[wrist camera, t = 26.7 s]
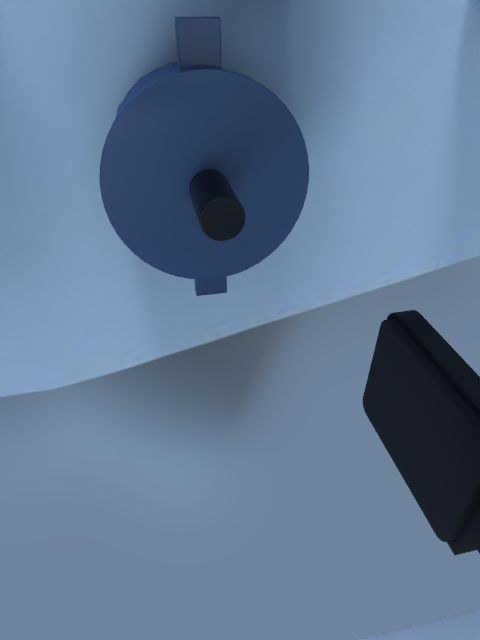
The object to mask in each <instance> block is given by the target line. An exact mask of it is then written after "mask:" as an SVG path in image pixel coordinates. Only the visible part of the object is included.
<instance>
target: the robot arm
mask: <svg viewBox="0 0 480 640" xmlns="http://www.w3.org/2000/svg"><path fill="white" fill-rule="evenodd" d="M363 407H364V410H365V413H366V414H367V416H368V418H369V420H370V422H371V423H372V425H373V427H374V428H375V430H376V432H377V434H378V435H379V437H380V439H381V441H382V442H383V444H384V446H385V448H386V449H387V451H388V453H389V454H390V456H391V458H392V460H393V461H394V463H395V465H396V467H397V468H398V470H399V472H400V473H401V475H402V477H403V479H404V480H405V482H406V484H407V486H408V487H409V489H410V491H411V492H412V494H413V496H414V497H415V499H416V501H417V503H418V504H419V506H420V508H421V510H422V511H423V513H424V515H425V517H426V518H427V520H428V522H429V523H430V525H431V527H432V529H433V530H434V532H435V534H436V535H437V537H438V538H439V539H440V540H441V541H443V542H447V543H448V545H449V546H450V548H451V550H452V552H453V553H454V555H458V554H462V553H466V552H470V551H474V550H478V552H479V553H480V377H479V376H478V375H477V374H476V373H475V372H474V371H473V369H472V368H471V367H470V366H469V365H468V364H467V363H466V362H465V361H464V360H463V359H462V358H461V357H460V356H459V355H458V354H457V352H456V351H455V350H454V349H453V348H452V347H451V346H450V345H449V344H448V343H447V342H446V341H445V340H444V339H443V337H441V335H440V334H439V333H438V332H437V331H436V330H435V329H434V328H433V327H432V326H431V325H430V324H429V323H428V322H427V320H425V319H424V317H423V316H422V315H421V314H420V313H419V312H417V311H415V310H411V311H403V312H396V313H392V314H390V315H389V316H388V317H387V320H384V321H383V322H382V323H381V326H380V330H379V335H378V338H377V343H376V347H375V351H374V355H373V359H372V363H371V367H370V371H369V375H368V380H367V384H366V388H365V392H364V396H363ZM359 640H480V609H477V610H473V611H469V612H465V613H460V614H457V615H453V616H449V617H445V618H441V619H437V620H433V621H429V622H425V623H421V624H418V625H414V626H410V627H406V628H402V629H398V630H394V631H391V632H386V633H382V634H379V635H375V636H371V637H367V638H363V639H359Z"/></svg>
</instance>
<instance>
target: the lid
mask: <svg viewBox="0 0 480 640" xmlns="http://www.w3.org/2000/svg"><path fill="white" fill-rule="evenodd" d="M308 179H309V165H308V155H307V150H306V146H305V142H304V139H303V136H302V133H301V131H300V128H299V126H298V125H297V123H296V121H295V119H294V117H293V115H292V114H291V113H290V111H289V110H288V109H287V107H286V106H285V105H284V104H283V103H282V101H281V100H280V99H279V98H278V97H277V96H276V95H275V94H273V93H272V92H271V91H270V90H268V89H267V88H266V87H264V86H263V85H261V84H260V83H258V82H256V81H254V80H252V79H251V78H249V77H247V76H244V75H241V74H238V73H236V72H233V71H228V70H223V69H217V68H196V69H187V70H183V71H179V72H175V73H172V74H169V75H167V76H165V77H162V78H160V79H158V80H156V81H154V82H153V83H151V84H150V85H148V86H146V87H145V88H143V89H142V90H141V91H140V92H139V93H137V94H136V95H135V96H134V97H133V98H132V99H131V100H130V101H129V102H128V103H127V104H126V105H125V107H124V108H123V109H122V110H121V112H120V113H119V115H118V116H117V118H116V119H115V121H114V122H113V124H112V127H111V129H110V131H109V133H108V135H107V138H106V141H105V145H104V148H103V151H102V157H101V164H100V188H101V196H102V200H103V204H104V207H105V211H106V213H107V215H108V218H109V220H110V223H111V224H112V226H113V228H114V230H115V231H116V233H117V235H118V236H119V237H120V238H121V240H122V241H123V242H124V244H125V245H126V246H127V247H128V248H129V249H130V250H131V251H132V252H133V253H134V254H135V255H137V256H138V257H139V258H140V259H142V260H143V261H144V262H146V263H148V264H149V265H151V266H153V267H154V268H156V269H159V270H161V271H163V272H165V273H168V274H172V275H175V276H178V277H184V278H189V279H214V278H220V277H226V276H229V275H233V274H236V273H239V272H241V271H244V270H246V269H248V268H250V267H252V266H254V265H256V264H257V263H259V262H260V261H262V260H263V259H265V258H266V257H267V256H269V255H270V254H271V253H272V252H273V251H274V250H275V249H277V248H278V246H279V245H280V244H281V243H282V242H283V241H284V240H285V238H286V237H287V236H288V234H289V233H290V232H291V230H292V229H293V227H294V225H295V223H296V221H297V220H298V218H299V215H300V213H301V210H302V208H303V205H304V201H305V198H306V194H307V187H308Z"/></svg>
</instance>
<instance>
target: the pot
mask: <svg viewBox="0 0 480 640" xmlns="http://www.w3.org/2000/svg"><path fill="white" fill-rule="evenodd" d="M175 28H176V41H177V54H178V62H172V63H169V64H167V65H165V66H163V67H160V68H158V69H156V70H154V71H152V72H151V73H149V74H147V75H146V76H144V77H142V78H140V80H138V81H137V83H136V84H135V85H134V87H133V88H132V89H131V90H130V91H129V92H128V94H127V96H126V97H125V99H124V100H123V101H122V103H121V104H120V105H119V108H118V110H117V114H116V118H117V116H118V115H119V113H120V112H121V110H122V109H123V108H124V107H125V105H126V104H127V103H128V102H129V101H130V100H131V99H132V98H133V97H134V96H135V95H136V94H137V93H139V92H140V91H141V90H142V89H143V88H145V87H146V86H148V85H150V84H151V83H153V82H154V81H156V80H158V79H160V78H162V77H165V76H167V75H169V74H172V73H175V72H179V71H183V70H187V69H196V68H217V69H222V68H221V29H220V17H175ZM194 280H195V291H196V295H197V296H200V295H209V294H217V293H226V292H227V280H226V277H220V278H214V279H194Z"/></svg>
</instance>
